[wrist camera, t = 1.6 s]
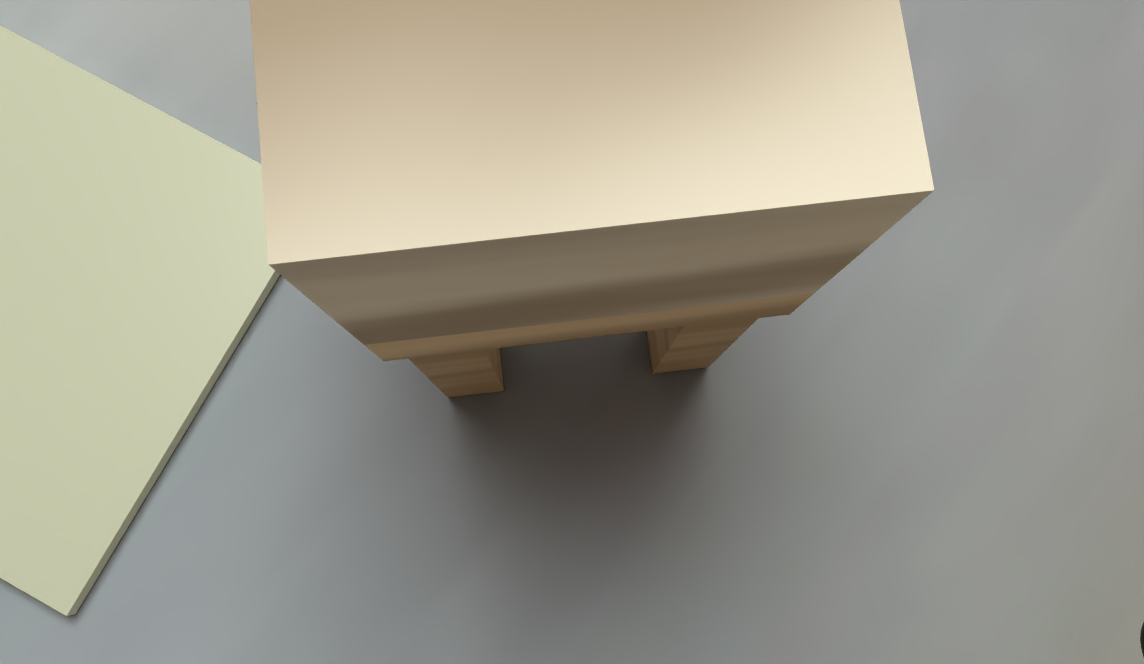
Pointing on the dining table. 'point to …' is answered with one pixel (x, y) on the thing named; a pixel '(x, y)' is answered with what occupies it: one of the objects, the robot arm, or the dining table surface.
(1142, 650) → the robot arm
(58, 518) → the placemat
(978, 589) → the dining table surface
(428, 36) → the stool
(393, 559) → the dining table surface
